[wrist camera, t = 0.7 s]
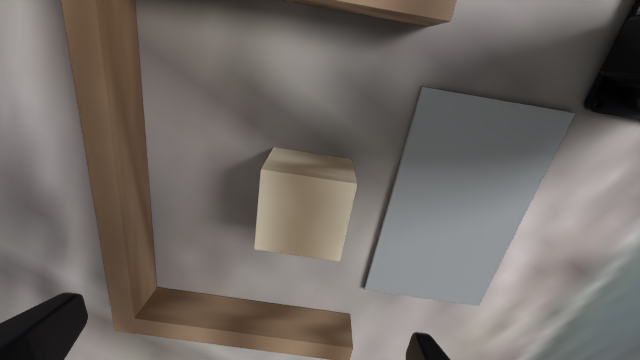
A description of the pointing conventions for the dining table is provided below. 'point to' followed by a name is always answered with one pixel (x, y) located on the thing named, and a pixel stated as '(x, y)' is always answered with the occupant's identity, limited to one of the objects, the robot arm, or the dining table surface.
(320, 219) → the birch block
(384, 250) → the grey mat
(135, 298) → the walnut u-shaped frame
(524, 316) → the dining table surface
